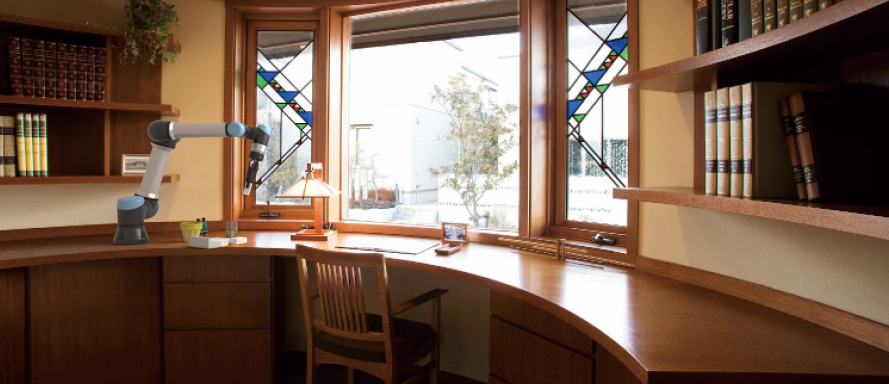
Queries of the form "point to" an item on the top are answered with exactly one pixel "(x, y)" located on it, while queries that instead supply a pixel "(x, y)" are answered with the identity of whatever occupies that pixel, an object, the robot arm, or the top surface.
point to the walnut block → (231, 229)
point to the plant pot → (190, 229)
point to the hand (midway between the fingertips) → (245, 194)
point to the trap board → (214, 241)
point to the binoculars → (203, 227)
